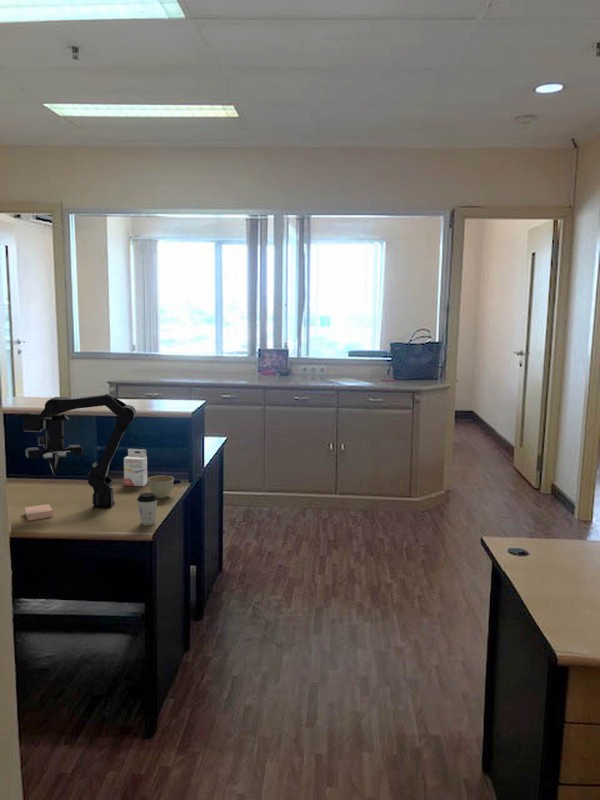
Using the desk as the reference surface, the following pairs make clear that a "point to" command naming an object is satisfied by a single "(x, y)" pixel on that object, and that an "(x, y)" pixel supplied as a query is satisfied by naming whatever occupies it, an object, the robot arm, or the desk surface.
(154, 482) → the beige bowl
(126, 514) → the desk surface
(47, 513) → the tile
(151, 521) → the coffee cup
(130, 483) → the ink cartridge box
